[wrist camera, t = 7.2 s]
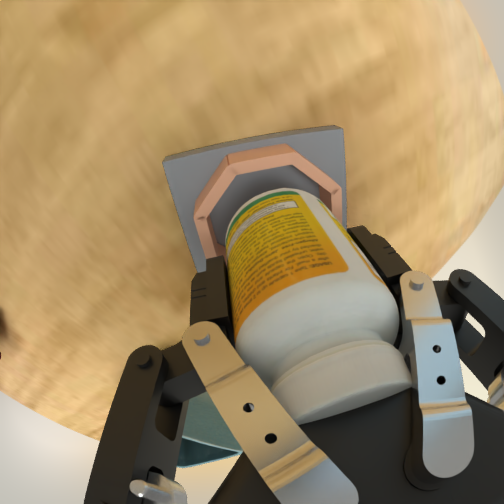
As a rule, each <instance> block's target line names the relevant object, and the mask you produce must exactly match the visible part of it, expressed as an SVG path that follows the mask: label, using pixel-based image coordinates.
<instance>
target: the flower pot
mask: <svg viewBox="0 0 504 504" xmlns="http://www.w3.org/2000/svg"><path fill="white" fill-rule="evenodd" d="M242 452H243V449H242V448H241V446H240V444H239V443H238V441H237V440H236V438H235V437H234V435H233V434H232V432H231V430H230V429H229V427H228V426H227V424H226V422H225V421H224V419H223V418H222V416H221V414H220V413H219V411H218V409H217V408H216V406H215V404H214V403H213V401H212V399H211V397H210V396H209V394H208V392H205V393H202V394H200V395H198V396H196V397H193V398H191V399H190V400H189V405H188V410H187V415H186V420H185V425H184V430H183V435H182V440H181V446H180V451H179V456H178V462H177V467H179V468H187V467H192V466H197V465H201V464H205V463H209V462H214V461H218V460H222V459H226V458H230V457H233V456H237V455H240V454H242Z"/></svg>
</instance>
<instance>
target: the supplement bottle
mask: <svg viewBox="0 0 504 504" xmlns="http://www.w3.org/2000/svg"><path fill="white" fill-rule="evenodd" d="M225 245H226V258H227V272H228V283H229V293H230V302H231V311H232V322H233V330H234V341H235V350H236V352H237V353H238V355H239V356H240V358H241V359H242V360H243V362H244V363H245V364H246V365H247V364H249V365H250V366H251V367H252V368H253V370H254V371H255V372H256V374H257V375H258V376H259V377H260V379H261V380H262V381H263V383H264V384H265V385H266V387H267V388H268V389H269V390H270V392H271V393H272V394H273V395H274V397H275V398H276V399H277V400H278V402H279V403H280V404H281V405H282V407H283V408H284V409H285V410H286V412H287V413H288V414H289V415H290V417H291V418H292V419H293V420H294V421H295V423H296V424H297V425H301V424H305V423H309V422H313V421H316V420H320V419H323V418H327V417H330V416H333V415H337V414H340V413H343V412H346V411H349V410H352V409H355V408H358V407H361V406H364V405H367V404H370V403H373V402H376V401H378V400H381V399H384V398H386V397H389V396H392V395H394V394H397V393H399V392H401V391H403V390H406V389H408V388H410V387H412V378H411V373H410V371H409V369H408V367H407V365H406V363H405V361H404V358H403V356H402V354H401V353H400V352H399V351H398V350H397V349H396V348H395V347H394V346H393V345H394V342H395V340H396V337H397V333H398V329H399V311H398V307H397V304H396V301H395V299H394V297H393V295H392V294H391V292H390V290H389V289H388V287H387V286H386V284H385V283H384V281H383V280H382V279H381V277H380V276H379V274H378V273H377V272H376V270H375V269H374V267H373V266H372V265H371V263H370V262H369V260H368V259H367V258H366V256H365V255H364V254H363V252H362V251H361V250H360V248H359V247H358V246H357V245H356V243H355V242H354V241H353V239H352V238H351V237H350V235H349V234H348V233H347V231H346V230H345V229H344V227H343V226H342V225H341V223H340V222H339V221H338V219H337V218H336V217H335V216H334V215H333V213H332V212H331V211H330V210H329V209H328V208H327V207H326V205H325V204H324V203H323V202H322V201H321V200H319V199H318V198H317V197H315V196H314V195H312V194H310V193H308V192H305V191H302V190H299V189H292V188H280V189H275V190H271V191H267V192H265V193H262V194H260V195H257V196H255V197H253V198H252V199H250V200H249V201H247V202H246V203H245V204H244V205H242V206H241V207H240V209H239V210H238V211H237V212H236V213H235V215H234V216H233V218H232V220H231V222H230V224H229V226H228V229H227V233H226V240H225Z"/></svg>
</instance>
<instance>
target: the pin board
mask: <svg viewBox="0 0 504 504" xmlns="http://www.w3.org/2000/svg"><path fill="white" fill-rule="evenodd" d="M162 163H163V167H164V170H165V174H166V177H167V180H168V184H169V187H170V190H171V194H172V197H173V200H174V203H175V207H176V210H177V213H178V216H179V219H180V222H181V225H182V228H183V231H184V234H185V237H186V240H187V243H188V246H189V249H190V252H191V255H192V258H193V261H194V264H195V267H196V269H197V272H198V273H199V272H203V271H206V259H208V258H212V257H217V256H222V255H223V256H224V259H225V262H226V266H227V258H226V245H225V240H226V233H227V229H228V226H229V224H230V222H231V220H232V218H233V216H234V215H235V213H236V212H237V211H238V210H239V209H240V207H241V206H242V205H244V204H245V203H246V202H247V201H249V200H250V199H252V198H253V197H255V196H257V195H260V194H262V193H265V192H267V191H271V190H275V189H280V188H292V189H299V190H302V191H305V192H308V193H310V194H312V195H314V196H315V197H317V198H318V199H319V200H321V201H322V202H323V203H324V204H325V205H326V207H327V208H328V209H329V210H330V211H331V212H332V213H333V215H334V216H335V217H336V218H337V219H338V221H339V222H340V223H341V225H342V226H343V227H344V229H345V230H347V204H346V168H345V149H344V134H343V129H342V128H340V127H338V126H335V125H333V126H324V127H315V128H307V129H299V130H292V131H285V132H279V133H273V134H267V135H261V136H255V137H250V138H245V139H239V140H234V141H230V142H225V143H220V144H216V145H211V146H207V147H203V148H198V149H194V150H190V151H186V152H182V153H179V154H175V155H171V156H167V157H165V159H164V160H163V162H162Z"/></svg>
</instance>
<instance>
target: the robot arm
mask: <svg viewBox="0 0 504 504" xmlns="http://www.w3.org/2000/svg"><path fill="white" fill-rule="evenodd" d="M346 231H347V233H348V234H349V235H350V237H351V238H352V239H353V241H354V242H355V243H356V245H357V246H358V247H359V248H360V250H361V251H362V252H363V254H364V255H365V256H366V258H367V259H368V260H369V262H370V263H371V265H372V266H373V267H374V269H375V270H376V272H377V273H378V274H379V276H380V277H381V279H382V280H383V281H384V283H385V284H386V286H387V287H388V289H389V290H390V292H391V294H392V295H393V297H394V299H395V301H396V304H397V307H398V311H399V329H398V333H397V337H396V340H395V342H394V345H393V346H394V347H395V348H396V349H397V350H398V351H399V352H400V353H401V354H402V356H403V358H404V361H405V363H406V365H407V367H408V369H409V371H410V373H411V378H412V387H410V388H408V389H406V390H403V391H401V392H399V393H397V394H394V395H392V396H389V397H386V398H384V399H381V400H378V401H376V402H373V403H370V404H367V405H364V406H361V407H358V408H355V409H352V410H349V411H346V412H343V413H340V414H337V415H333V416H330V417H327V418H323V419H320V420H316V421H313V422H309V423H305V424H301V425H297V424H296V423H295V421H294V420H293V419H292V418H291V417H290V415H289V414H288V413H287V412H286V410H285V409H284V408H283V407H282V405H281V404H280V403H279V402H278V400H277V399H276V398H275V397H274V395H273V394H272V393H271V392H270V390H269V389H268V388H267V387H266V385H265V384H264V383H263V381H262V380H261V379H260V377H259V376H258V375H257V374H256V372H255V371H254V370H253V368H252V367H251V366H250V365H249V364H247V365H246V364H245V363H244V362H243V360H242V359H241V358H240V356H239V355H238V353H237V352H236V350H235V341H234V330H233V322H232V311H231V302H230V293H229V283H228V272H227V266H226V262H225V259H224V256H223V255H222V256H217V257H212V258H208V259H206V271H203V272H199V273H196V275H195V277H194V278H193V280H192V284H191V304H190V327H189V328H188V329H187V330H186V331H185V332H184V334H183V337H182V340H181V341H180V342H179V343H177V344H176V345H174V346H171V347H169V348H167V349H165V350H162V351H160V349H158V348H157V347H155V346H152V345H146V346H142V347H140V348H138V349H136V350H135V351H134V352H132V354H131V355H130V356H129V358H128V360H127V363H126V366H125V368H124V371H123V374H122V377H121V379H120V382H119V385H118V388H117V391H116V393H115V396H114V399H113V402H112V405H111V408H110V411H109V414H108V417H107V420H106V423H105V427H104V430H103V433H102V436H101V440H100V443H99V447H98V450H97V453H96V457H95V460H94V464H93V468H92V472H91V475H90V479H89V483H88V487H87V491H86V495H85V500H84V504H187V495H186V492H185V490H184V488H183V487H182V486H181V485H180V484H179V483H178V482H176V481H174V478H175V473H176V467H177V462H178V456H179V451H180V446H181V440H182V435H183V430H184V425H185V420H186V415H187V410H188V405H189V400H190V399H191V398H193V397H196V396H198V395H200V394H202V393H205V392H208V394H209V396H210V397H211V399H212V401H213V403H214V404H215V406H216V408H217V409H218V411H219V413H220V414H221V416H222V418H223V419H224V421H225V422H226V424H227V426H228V427H229V429H230V430H231V432H232V434H233V435H234V437H235V438H236V440H237V441H238V443H239V444H240V446H241V448H242V449H243V452H242V454H241V455H240V457H239V459H238V460H237V462H236V463H235V465H234V466H233V468H232V469H231V471H230V472H229V474H228V475H227V477H226V478H225V480H224V481H223V483H222V484H221V486H220V487H219V488H218V490H217V491H216V493H215V494H214V496H213V497H212V499H211V500H210V501H209V503H208V504H504V300H503V299H502V298H501V297H500V296H499V295H498V294H496V293H495V292H494V291H493V290H492V289H491V288H489V287H488V286H487V285H486V284H485V283H483V282H482V281H481V280H480V279H479V278H477V277H476V276H475V275H474V274H472V273H471V272H469V271H467V270H463V269H458V270H454V271H453V272H452V273H451V274H450V277H449V280H446V281H432V279H431V278H430V277H429V276H428V275H427V274H425V273H423V272H420V271H412V269H411V268H410V267H409V266H408V265H407V264H406V262H405V261H404V260H403V259H402V258H401V257H400V255H399V254H398V253H396V251H395V250H394V249H393V247H391V245H390V244H389V243H388V242H387V241H386V240H385V239H384V238H382V237H380V236H379V235H377V234H373V235H372V234H371V233H370V232H369V231H368V230H367V229H366V227H365V226H363V225H362V226H357V227H353V228H348V229H347V230H346ZM468 313H469V314H470V315H471V316H472V317H474V319H476V320H477V321H478V322H479V323H480V324H481V325H482V326H483V328H484V330H485V338H484V337H483V336H482V335H481V334H480V333H479V332H478V331H477V330H476V329H475V328H474V327H473V326H472V325H471V324H470V323H469V322H468V321H467V320H466V319H465V318H466V316H467V314H468ZM459 358H460V359H461V360H462V361H463V363H464V364H465V365H466V366H467V367H468V368H469V369H470V370H471V372H472V373H473V374H474V375H475V376H476V377H477V378H478V380H479V381H480V382H481V383H482V384H483V386H484V387H485V388H486V389H487V390H488V395H489V397H488V399H487V402H485V401H483V400H480V399H478V398H477V397H474V396H472V395H470V394H468V393H466V392H465V391H464V384H463V377H462V372H461V366H460V359H459Z"/></svg>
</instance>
